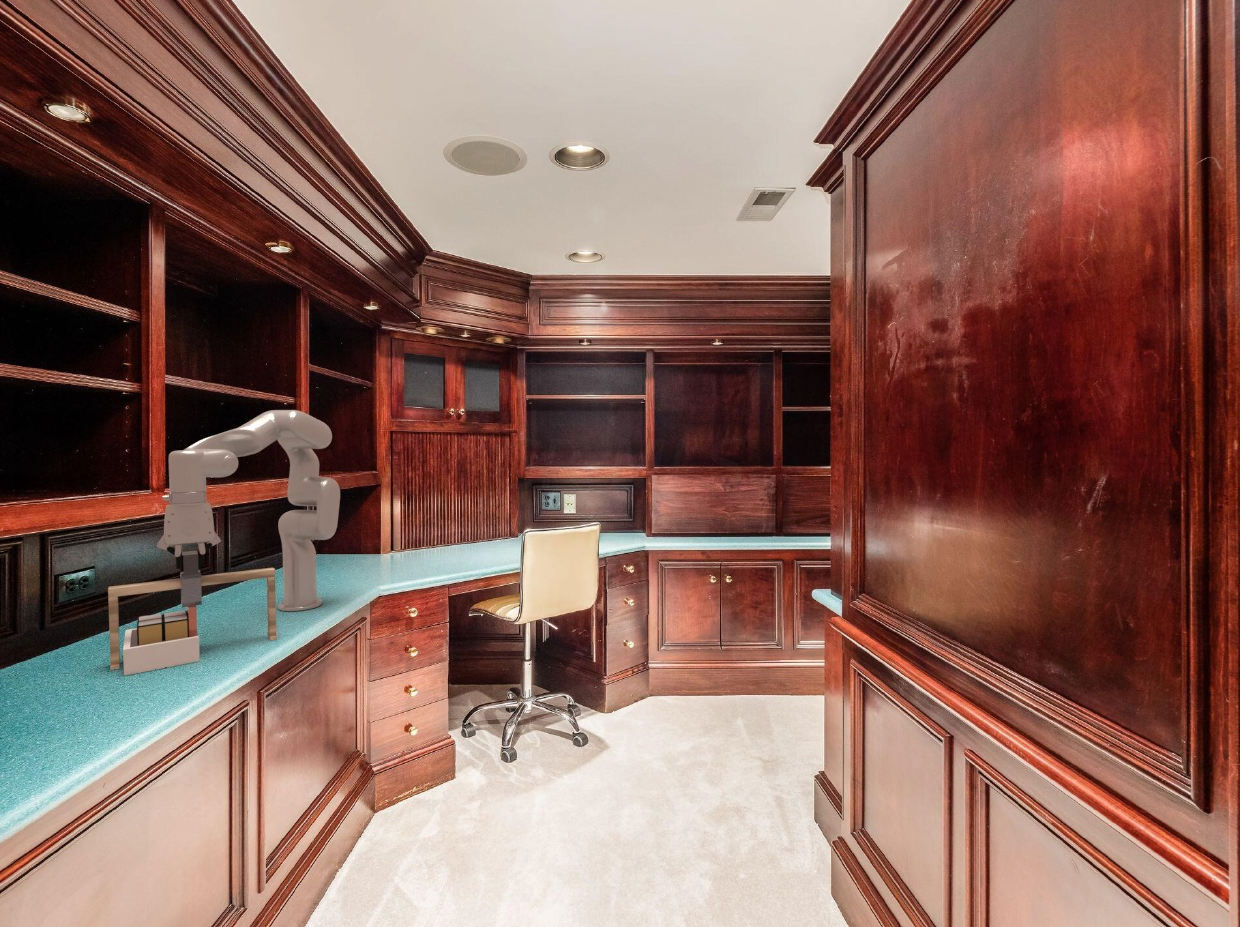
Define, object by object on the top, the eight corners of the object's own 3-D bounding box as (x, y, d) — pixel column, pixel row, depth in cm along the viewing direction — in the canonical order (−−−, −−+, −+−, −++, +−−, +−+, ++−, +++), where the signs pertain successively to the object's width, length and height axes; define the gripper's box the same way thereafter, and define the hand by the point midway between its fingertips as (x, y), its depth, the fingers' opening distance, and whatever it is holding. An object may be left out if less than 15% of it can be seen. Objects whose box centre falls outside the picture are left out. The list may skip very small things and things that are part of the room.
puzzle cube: (138, 655, 147) (137, 616, 147) (187, 647, 154) (186, 609, 153) (137, 667, 140) (136, 626, 139) (189, 658, 146) (188, 618, 146)
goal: (126, 653, 149) (125, 629, 149) (195, 641, 158) (194, 619, 158) (124, 675, 135) (123, 649, 135) (199, 661, 144) (199, 636, 143)
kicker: (182, 642, 152) (179, 551, 152) (200, 639, 155) (198, 549, 154) (183, 652, 145) (181, 556, 145) (203, 648, 148) (200, 554, 147)
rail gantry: (111, 662, 143) (109, 585, 142) (273, 633, 164) (272, 566, 163) (110, 670, 138) (107, 590, 137) (277, 639, 159) (275, 570, 159)
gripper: (147, 502, 141) (149, 577, 141) (228, 497, 151) (230, 568, 152) (147, 499, 147) (149, 572, 147) (225, 495, 157) (227, 563, 158)
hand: (190, 569), depth 149 cm, fingers closed on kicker, 3 cm apart
